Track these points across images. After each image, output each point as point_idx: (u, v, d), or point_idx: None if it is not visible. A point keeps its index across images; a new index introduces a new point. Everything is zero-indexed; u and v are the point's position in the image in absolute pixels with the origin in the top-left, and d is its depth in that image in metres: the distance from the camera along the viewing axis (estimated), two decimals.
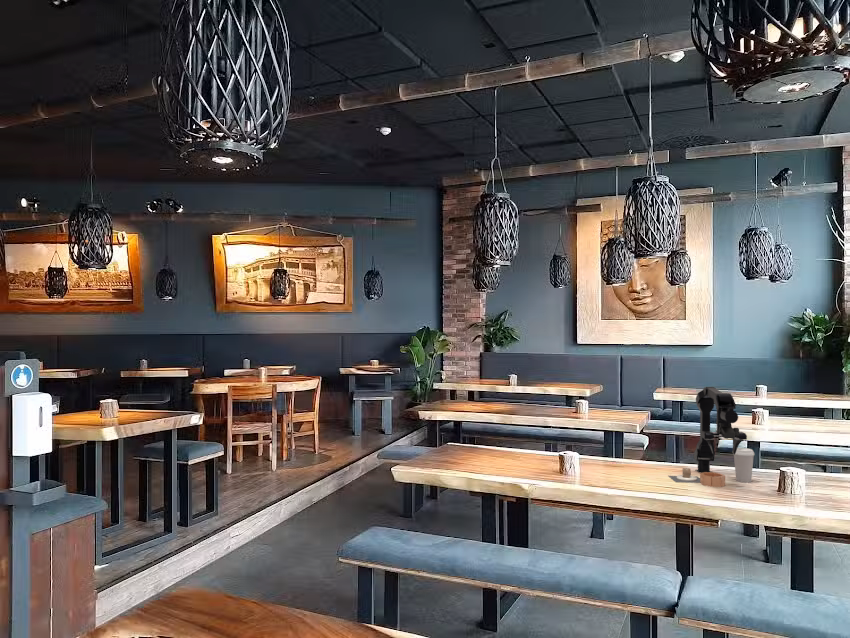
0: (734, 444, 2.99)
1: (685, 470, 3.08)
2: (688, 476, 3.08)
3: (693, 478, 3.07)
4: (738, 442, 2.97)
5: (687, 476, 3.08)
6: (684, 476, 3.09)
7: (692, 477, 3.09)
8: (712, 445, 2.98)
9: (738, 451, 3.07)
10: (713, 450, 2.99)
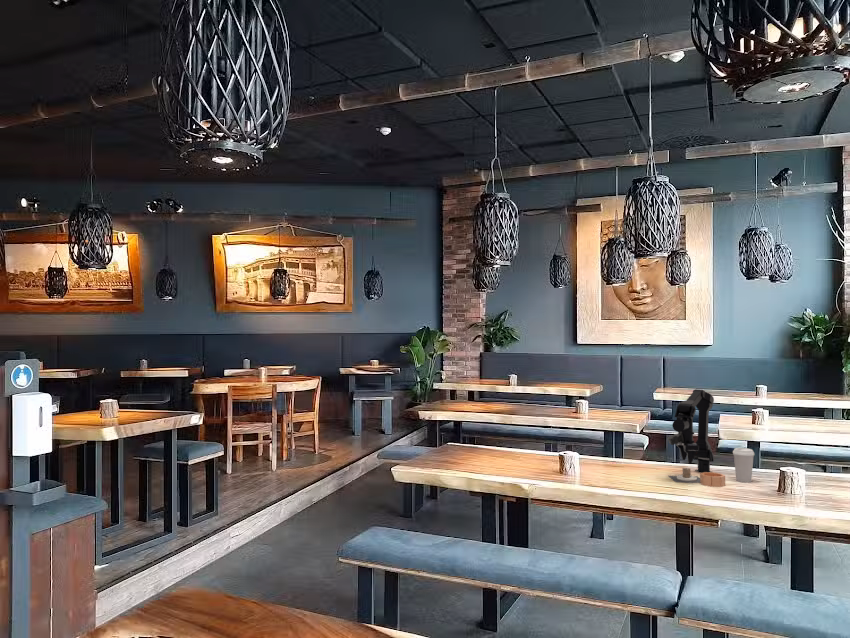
0: None
1: (685, 470, 3.08)
2: (688, 476, 3.08)
3: (693, 478, 3.07)
4: (685, 452, 3.04)
5: (687, 476, 3.08)
6: (684, 476, 3.09)
7: (692, 477, 3.09)
8: (680, 451, 3.15)
9: (738, 451, 3.07)
10: None
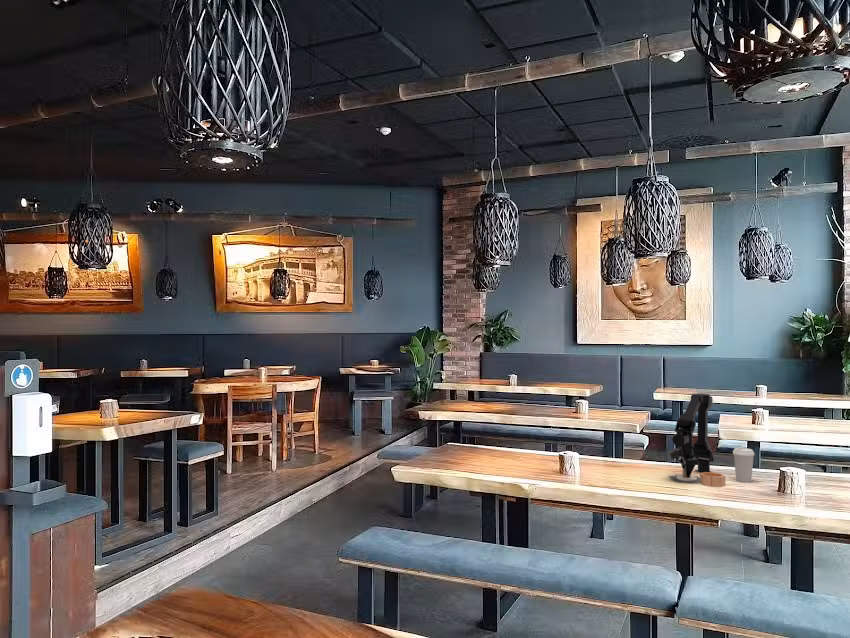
0: None
1: (685, 470, 3.08)
2: None
3: (693, 478, 3.07)
4: (684, 465, 3.07)
5: None
6: (684, 476, 3.09)
7: (692, 477, 3.09)
8: (682, 466, 3.13)
9: (738, 451, 3.07)
10: None
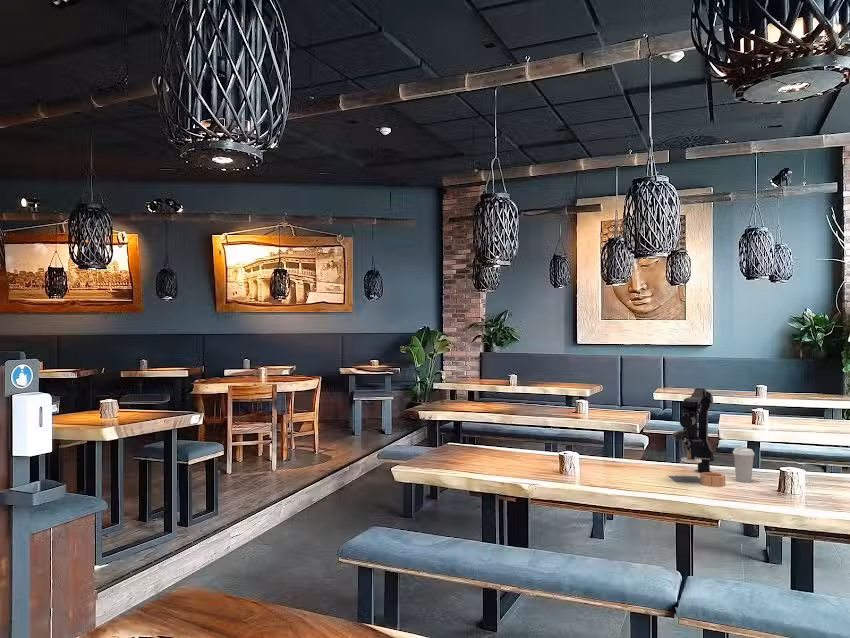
0: None
1: None
2: None
3: (698, 460, 3.05)
4: (689, 447, 3.05)
5: None
6: (689, 458, 3.07)
7: (697, 459, 3.07)
8: (687, 448, 3.11)
9: (738, 451, 3.07)
10: None
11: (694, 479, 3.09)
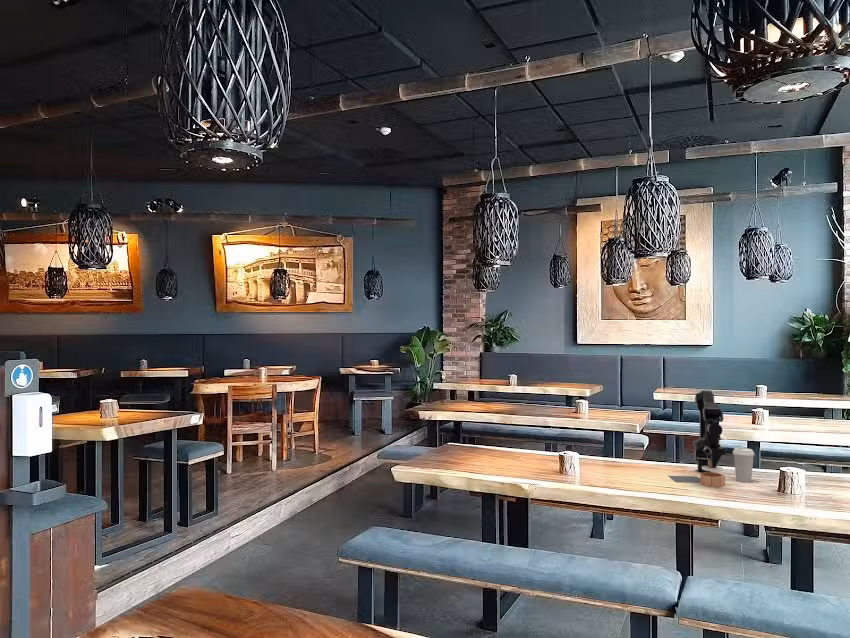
0: None
1: None
2: None
3: (719, 468, 2.97)
4: (710, 455, 2.97)
5: None
6: (710, 466, 2.99)
7: (718, 467, 2.99)
8: (707, 456, 3.03)
9: (738, 451, 3.07)
10: None
11: (694, 479, 3.09)
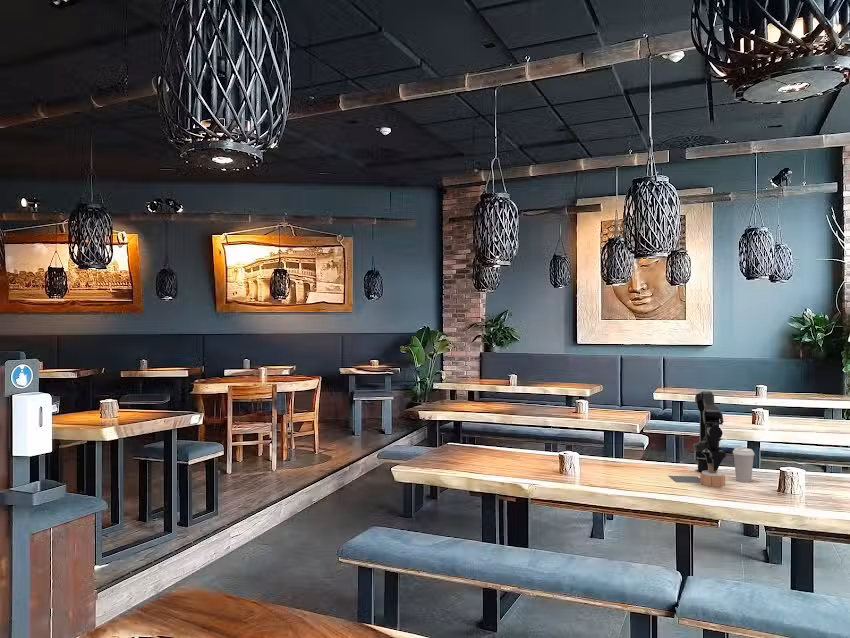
0: None
1: (711, 465, 2.98)
2: (714, 471, 2.98)
3: (719, 473, 2.97)
4: (711, 458, 2.95)
5: (713, 471, 2.98)
6: (710, 471, 2.99)
7: (718, 472, 2.99)
8: (706, 458, 3.05)
9: (738, 451, 3.07)
10: (707, 463, 3.04)
11: (694, 479, 3.09)
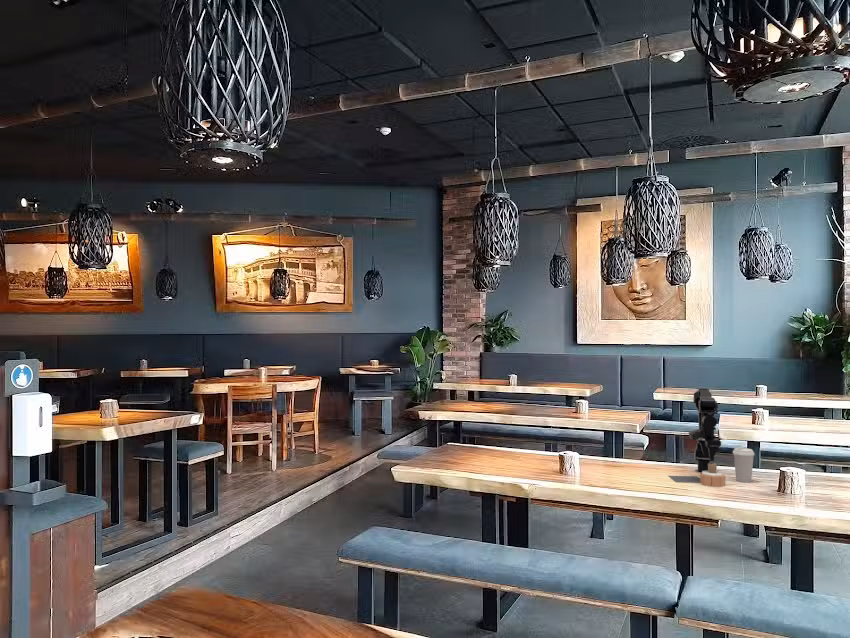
0: None
1: (711, 465, 2.98)
2: (714, 471, 2.98)
3: (719, 473, 2.97)
4: (707, 447, 3.03)
5: (713, 471, 2.98)
6: (710, 471, 2.99)
7: (718, 472, 2.99)
8: (701, 446, 3.14)
9: (738, 451, 3.07)
10: (702, 451, 3.13)
11: (694, 479, 3.09)
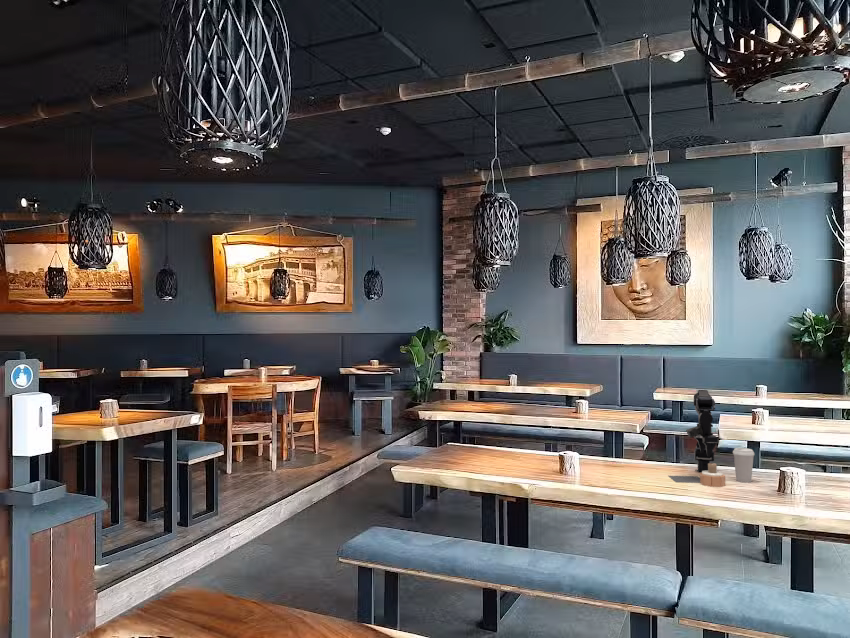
0: None
1: (711, 465, 2.98)
2: (714, 471, 2.98)
3: (719, 473, 2.97)
4: (704, 444, 3.07)
5: (713, 471, 2.98)
6: (710, 471, 2.99)
7: (718, 472, 2.99)
8: (698, 443, 3.18)
9: (738, 451, 3.07)
10: (700, 448, 3.18)
11: (694, 479, 3.09)
